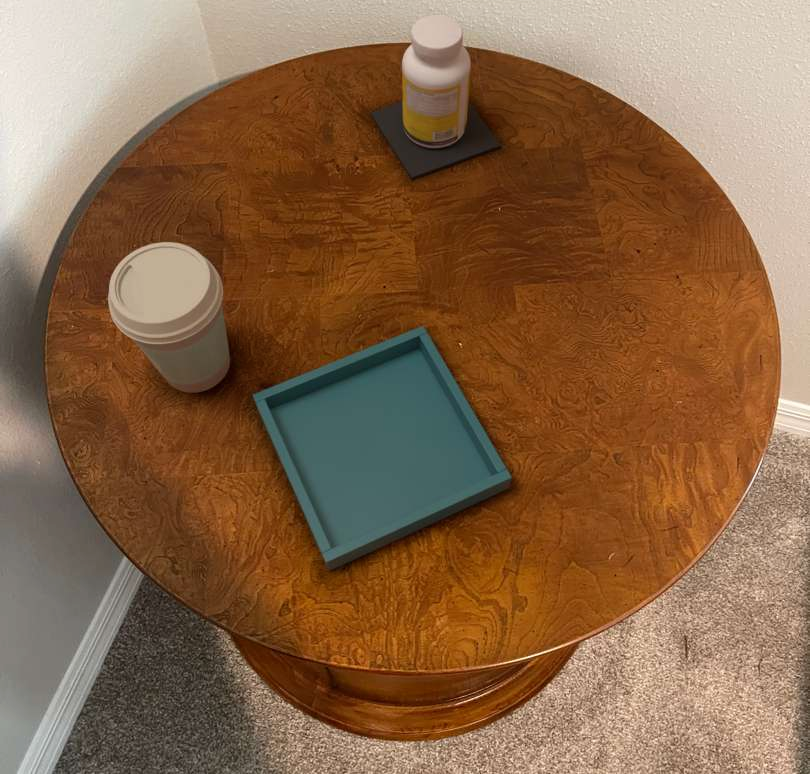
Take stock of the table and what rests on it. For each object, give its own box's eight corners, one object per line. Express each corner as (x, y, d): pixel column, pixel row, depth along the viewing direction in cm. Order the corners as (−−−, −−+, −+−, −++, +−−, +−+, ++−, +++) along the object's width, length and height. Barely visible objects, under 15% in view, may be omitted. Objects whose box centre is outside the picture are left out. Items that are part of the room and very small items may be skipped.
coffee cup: (166, 315, 74) (126, 228, 63) (258, 331, 73) (232, 245, 62) (132, 397, 70) (82, 318, 59) (228, 415, 69) (196, 338, 58)
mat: (500, 147, 84) (501, 145, 83) (411, 180, 82) (411, 177, 81) (455, 86, 88) (455, 83, 88) (370, 115, 86) (370, 112, 86)
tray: (509, 488, 66) (512, 477, 64) (328, 571, 62) (325, 562, 60) (422, 339, 72) (423, 325, 71) (256, 407, 69) (252, 394, 67)
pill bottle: (441, 97, 87) (445, -2, 76) (478, 134, 84) (487, 36, 74) (390, 123, 85) (387, 24, 75) (426, 161, 82) (428, 64, 72)
